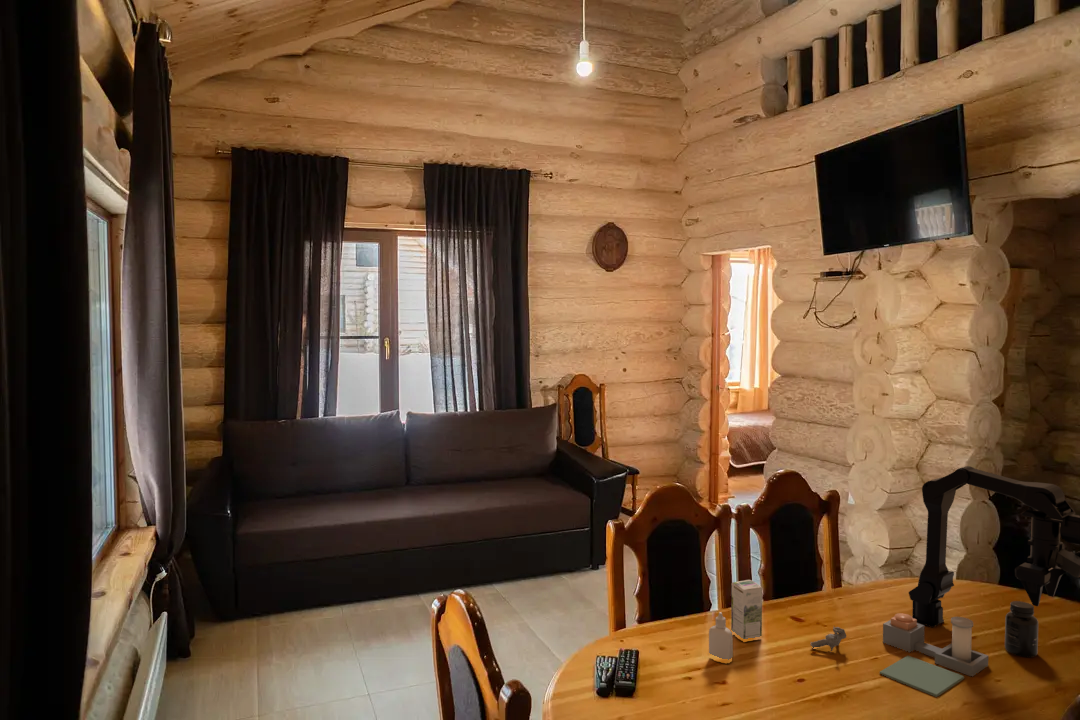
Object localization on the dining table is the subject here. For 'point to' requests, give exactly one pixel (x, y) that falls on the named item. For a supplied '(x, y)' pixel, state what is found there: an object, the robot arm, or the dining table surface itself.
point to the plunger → (904, 621)
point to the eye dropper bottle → (720, 639)
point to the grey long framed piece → (932, 649)
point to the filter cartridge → (961, 638)
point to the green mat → (922, 675)
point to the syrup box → (746, 609)
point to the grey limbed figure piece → (831, 639)
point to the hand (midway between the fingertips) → (1043, 600)
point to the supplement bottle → (1021, 630)
